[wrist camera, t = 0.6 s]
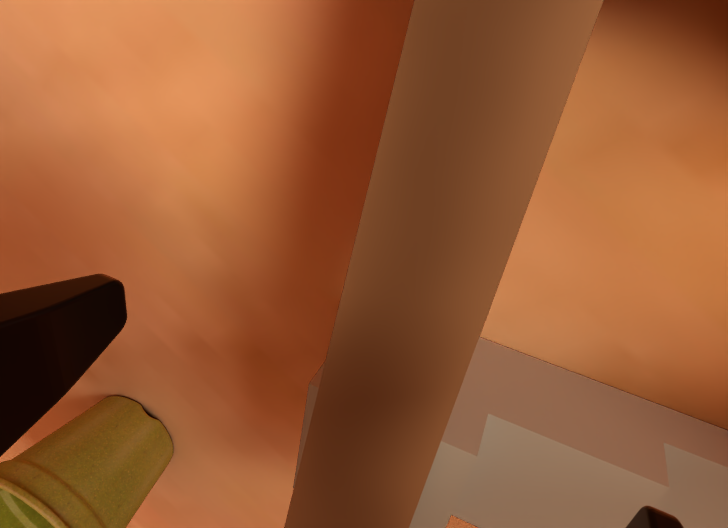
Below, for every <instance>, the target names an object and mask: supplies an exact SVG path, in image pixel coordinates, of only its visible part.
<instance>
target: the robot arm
mask: <svg viewBox="0 0 728 528" xmlns="http://www.w3.org/2000/svg"><path fill="white" fill-rule="evenodd" d="M126 320H127V310H126V300H125V290H124V286H123V284H122V282H120V281H119V280H117V279H114V278H112V277H110V276H107V275H105V274H95V275H90V276H85V277H80V278H75V279H70V280H66V281H61V282H56V283H51V284H46V285H41V286H36V287H31V288H27V289H22V290H17V291H12V292H7V293H2V294H0V457H1V456H2V455H3V454H4V453H5V452H6V451H7V450H8V449H9V448H10V447H11V446H12V445H13V444H14V443H15V442H16V441H17V440H18V439H19V438H20V437H21V436H23V435H24V434H25V433H26V432H27V431H28V430H29V429H30V428H31V427H32V426H33V425H34V424H35V423H36V422H37V421H38V420H39V419H40V418H41V417H42V416H43V415H44V414H46V413H47V412H48V411H49V410H50V409H51V408H52V407H53V406H54V405H55V404H56V403H57V402H58V401H59V400H60V399H61V398H62V397H63V396H64V395H65V394H66V393H67V392H68V391H69V390H70V389H71V387H72V386H73V385H74V384H75V383H76V382H77V381H78V380H79V379H80V377H81V376H82V375H83V374H84V373H85V372H86V370H87V369H88V368H89V367H90V366H91V365H92V364H93V362H94V361H95V360H96V359H97V358H98V357H99V356H100V354H101V353H102V352H103V351H104V350H105V349H106V347H107V346H108V345H109V344H110V343H111V342H112V341H113V339H114V338H115V337H116V336H117V335H118V334H119V332H120V331H121V330H122V329H123V327H124V325H125V323H126ZM626 528H684V527H683V525H682V524H681V522H680V521H679V520H678V519H677V518H676V517H675V516H673V515H671V514H668V513H666V512H664V511H661V510H659V509H657V508H654V507H652V506H643V507H642V508H641V509H640V510H639V511H638V512H637V513H636V515H635V516H634V517H633V519H632V520H631V521H630V522H629V524H628V525H627V526H626Z"/></svg>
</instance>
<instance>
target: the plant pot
mask: <svg viewBox="0 0 728 528" xmlns="http://www.w3.org/2000/svg"><path fill="white" fill-rule="evenodd" d="M172 455H173V444H172V441H171V438H170V436H169V434H168V432H167V430H166V429H165V427H164V426H163V424H162V423H161V422H160V421H159V420H157V419H154V418H151V417H150V416H148V415H147V414H146V413H145V411H144V410H143V408H142V406H141V405H140V404H139V403H137V402H135V401H133V400H131V399H128V398H125V397H120V396H110V397H107V398H105V399H103V400H102V401H100V402H99V403H97V404H96V405H94V406H93V407H91V408H90V409H88V410H87V411H85V412H84V413H82V414H81V415H79V416H78V417H76V418H75V419H73V420H72V421H70V422H68V423H67V424H65V425H64V426H62V427H61V428H59V429H58V430H56V431H55V432H53V433H52V434H50V435H49V436H47V437H45V438H44V439H42V440H41V441H39V442H38V443H36V444H35V445H33V446H32V447H30V448H29V449H27V450H26V451H24V452H23V453H21V454H19V455H18V456H16V457H15V458H13V459H12V460H8V461H4V462H1V463H0V528H126V527H127V525H128V524H129V522H130V521H131V519H132V518H133V516H134V514H135V513H136V511H137V510H138V508H139V507H140V505H141V504H142V502H143V501H144V499H145V498H146V496H147V495H148V493H149V492H150V490H151V489H152V487H153V486H154V484H155V483H156V481H157V480H158V478H159V477H160V475H161V474H162V472H163V471H164V469H165V468H166V466H167V465H168V463H169V462H170V460H171V458H172Z"/></svg>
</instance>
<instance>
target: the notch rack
mask: <svg viewBox="0 0 728 528" xmlns="http://www.w3.org/2000/svg"><path fill="white" fill-rule="evenodd" d="M324 365H325V362H324V364H323V365H322V366H321V368H320V369H319V370H318V372H317V373H316V375H315V376H314V377H313V379H312V380H311V382H310V383H309V387H308V394H307V400H306V407H305V413H304V420H303V427H302V433H301V440H300V447H299V453H298V460H297V466H296V473H295V480H294V486H295V482H296V478H297V474H298V470H299V466H300V462H301V458H302V454H303V450H304V446H305V442H306V438H307V434H308V430H309V426H310V421H311V417H312V413H313V409H314V405H315V401H316V397H317V393H318V389H319V385H320V381H321V377H322V373H323V369H324ZM294 486H293V488H294ZM643 506H652V507H654V508H657V509H659V510H661V511H664V512H666V513H668V514H671V515H673V516H675V517H676V518H677V519H678V520H679V521H680V522H681V524H682V525H683V527H684V528H728V430H725V429H723V428H720V427H717V426H715V425H712V424H709V423H707V422H704V421H701V420H699V419H696V418H693V417H691V416H688V415H685V414H683V413H680V412H677V411H675V410H672V409H669V408H667V407H664V406H661V405H659V404H656V403H654V402H651V401H648V400H646V399H643V398H640V397H638V396H635V395H632V394H630V393H627V392H624V391H622V390H619V389H616V388H614V387H611V386H608V385H606V384H603V383H600V382H598V381H595V380H592V379H590V378H587V377H585V376H582V375H579V374H577V373H574V372H571V371H569V370H566V369H563V368H561V367H558V366H555V365H553V364H550V363H547V362H545V361H542V360H539V359H537V358H534V357H531V356H529V355H526V354H523V353H521V352H518V351H516V350H513V349H510V348H508V347H505V346H502V345H500V344H497V343H494V342H492V341H489V340H486V339H484V338H481V337H479V339H478V342H477V345H476V348H475V350H474V353H473V356H472V358H471V361H470V364H469V367H468V369H467V372H466V375H465V377H464V380H463V383H462V386H461V388H460V391H459V394H458V396H457V399H456V402H455V405H454V407H453V410H452V413H451V415H450V418H449V421H448V424H447V426H446V429H445V432H444V434H443V437H442V440H441V443H440V445H439V448H438V451H437V453H436V456H435V459H434V461H433V464H432V467H431V470H430V472H429V475H428V478H427V480H426V483H425V486H424V489H423V491H422V494H421V497H420V499H419V502H418V505H417V508H416V510H415V513H414V516H413V518H412V521H411V524H410V527H409V528H446V526H447V524H448V521H449V519H450V517H451V515H453V516H455V517H457V518H459V519H461V520H463V521H466V522H468V523H470V524H472V525H474V526H476V527H479V528H626V526H627V525H628V524H629V522H630V521H631V520H632V519H633V517H634V516H635V515H636V513H637V512H638V511H639V510H640V509H641V508H642V507H643Z"/></svg>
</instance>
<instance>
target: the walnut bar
mask: <svg viewBox="0 0 728 528" xmlns="http://www.w3.org/2000/svg"><path fill="white" fill-rule="evenodd" d="M603 1H604V0H414V4H413V8H412V12H411V16H410V20H409V25H408V29H407V33H406V37H405V41H404V45H403V49H402V53H401V57H400V61H399V65H398V69H397V73H396V77H395V81H394V85H393V89H392V93H391V97H390V101H389V106H388V110H387V114H386V118H385V122H384V126H383V130H382V134H381V138H380V142H379V146H378V150H377V154H376V158H375V162H374V166H373V170H372V174H371V178H370V182H369V187H368V191H367V195H366V199H365V203H364V207H363V211H362V215H361V219H360V223H359V227H358V231H357V235H356V239H355V243H354V247H353V251H352V255H351V259H350V263H349V268H348V272H347V276H346V280H345V284H344V288H343V292H342V296H341V300H340V304H339V308H338V312H337V316H336V320H335V324H334V328H333V332H332V336H331V340H330V345H329V349H328V353H327V357H326V361H325V365H324V369H323V373H322V377H321V381H320V385H319V389H318V393H317V397H316V401H315V405H314V409H313V413H312V417H311V421H310V426H309V430H308V434H307V438H306V442H305V446H304V450H303V454H302V458H301V462H300V466H299V470H298V474H297V478H296V482H295V486H294V490H293V494H292V498H291V502H290V507H289V511H288V515H287V519H286V523H285V527H284V528H409V527H410V524H411V521H412V518H413V516H414V513H415V510H416V508H417V505H418V502H419V499H420V497H421V494H422V491H423V489H424V486H425V483H426V480H427V478H428V475H429V472H430V470H431V467H432V464H433V461H434V459H435V456H436V453H437V451H438V448H439V445H440V443H441V440H442V437H443V434H444V432H445V429H446V426H447V424H448V421H449V418H450V415H451V413H452V410H453V407H454V405H455V402H456V399H457V396H458V394H459V391H460V388H461V386H462V383H463V380H464V377H465V375H466V372H467V369H468V367H469V364H470V361H471V358H472V356H473V353H474V350H475V348H476V345H477V342H478V339H479V337H480V334H481V331H482V329H483V326H484V323H485V321H486V318H487V315H488V312H489V310H490V307H491V304H492V302H493V299H494V296H495V293H496V291H497V288H498V285H499V283H500V280H501V277H502V274H503V272H504V269H505V266H506V264H507V261H508V258H509V255H510V253H511V250H512V247H513V245H514V242H515V239H516V236H517V234H518V231H519V228H520V226H521V223H522V220H523V218H524V215H525V212H526V209H527V207H528V204H529V201H530V199H531V196H532V193H533V190H534V188H535V185H536V182H537V180H538V177H539V174H540V171H541V169H542V166H543V163H544V161H545V158H546V155H547V152H548V150H549V147H550V144H551V142H552V139H553V136H554V133H555V131H556V128H557V125H558V123H559V120H560V117H561V114H562V112H563V109H564V106H565V104H566V101H567V98H568V96H569V93H570V90H571V87H572V85H573V82H574V79H575V77H576V74H577V71H578V68H579V66H580V63H581V60H582V58H583V55H584V52H585V49H586V47H587V44H588V41H589V39H590V36H591V33H592V30H593V28H594V25H595V22H596V20H597V17H598V14H599V11H600V9H601V6H602V3H603Z"/></svg>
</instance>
